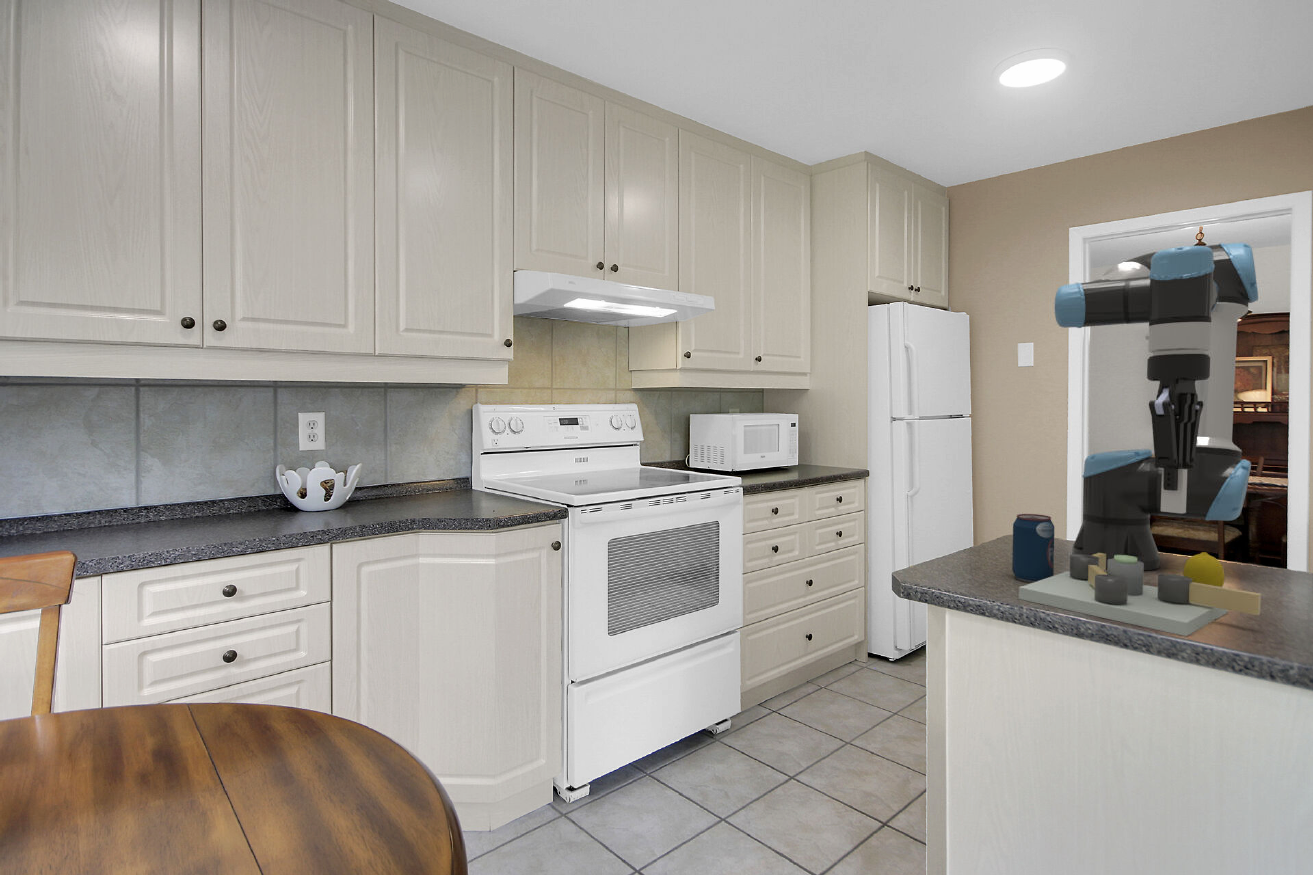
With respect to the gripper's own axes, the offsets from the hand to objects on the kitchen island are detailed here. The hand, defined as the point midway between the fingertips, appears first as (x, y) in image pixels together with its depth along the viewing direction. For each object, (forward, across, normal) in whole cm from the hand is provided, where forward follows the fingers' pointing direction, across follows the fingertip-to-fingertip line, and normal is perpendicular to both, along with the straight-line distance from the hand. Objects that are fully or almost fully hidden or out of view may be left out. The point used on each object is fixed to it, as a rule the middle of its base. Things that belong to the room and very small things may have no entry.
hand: (1173, 511), depth 106 cm
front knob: (+15, -2, -10) cm, 18 cm away
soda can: (+17, -10, -26) cm, 33 cm away
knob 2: (+15, -7, +2) cm, 17 cm away
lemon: (+17, -20, -3) cm, 26 cm away
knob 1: (+15, -13, -17) cm, 26 cm away
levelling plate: (+17, -5, -9) cm, 20 cm away
